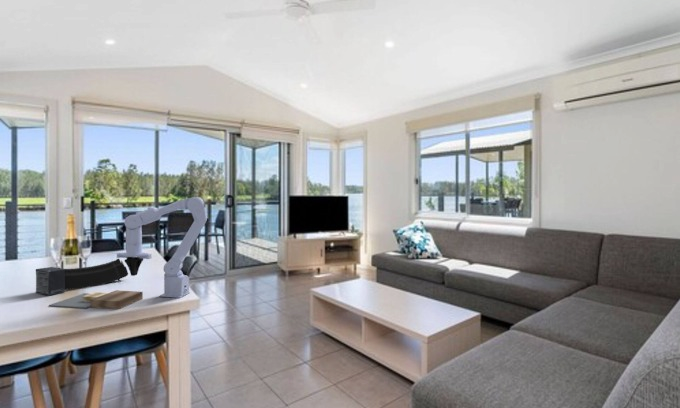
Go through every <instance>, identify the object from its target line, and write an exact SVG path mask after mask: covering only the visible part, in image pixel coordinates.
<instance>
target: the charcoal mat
mask: <svg viewBox="0 0 680 408" xmlns="http://www.w3.org/2000/svg"><path fill="white" fill-rule="evenodd" d="M88 294H90V293H87V292H86V293H81V294H78V295H75V296H72V297H69V298H66V299H63V300H59V301H57V302H53V303H50V304H49V305H48V307H54V308H55V307H56V308H57V307H58V308H69V309H70V308H71V309H89V308H91V307H90V302H84V301H82V296H85V295H88Z"/></svg>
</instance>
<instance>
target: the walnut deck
mask: <svg viewBox="0 0 680 408" xmlns="http://www.w3.org/2000/svg"><path fill="white" fill-rule="evenodd" d="M107 293H108V294H105V295H102V296H99V297H96V298H94V299H91V300H90V307H89V308H95V309H108V310H109V309H110V310H111V309H112V310H120V309H122V308H125V307H127V306H129V305H132V304H134V303H136V302H138V301H141V300H143V291H132V290H117V289H116V290H113V291H111V292H107Z"/></svg>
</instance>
